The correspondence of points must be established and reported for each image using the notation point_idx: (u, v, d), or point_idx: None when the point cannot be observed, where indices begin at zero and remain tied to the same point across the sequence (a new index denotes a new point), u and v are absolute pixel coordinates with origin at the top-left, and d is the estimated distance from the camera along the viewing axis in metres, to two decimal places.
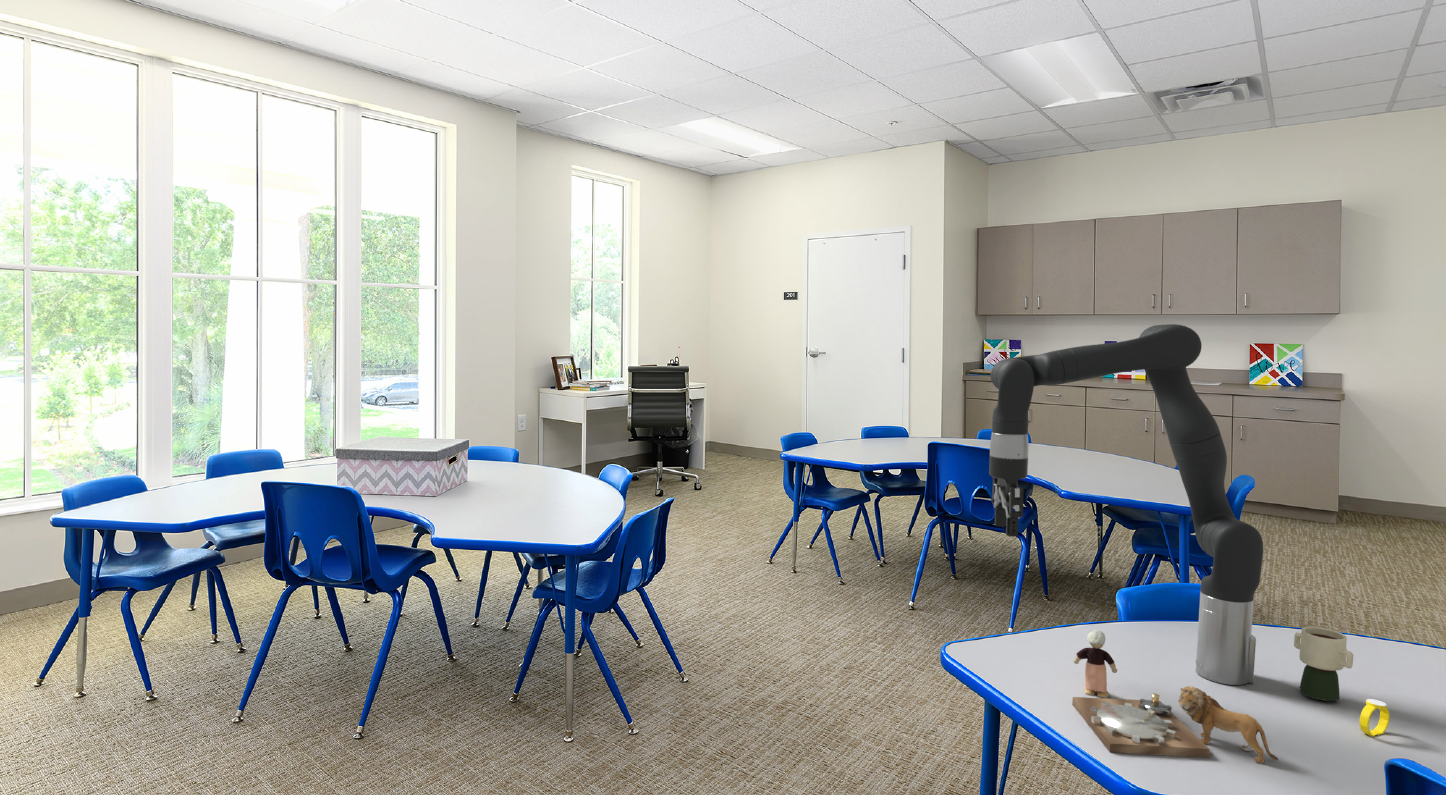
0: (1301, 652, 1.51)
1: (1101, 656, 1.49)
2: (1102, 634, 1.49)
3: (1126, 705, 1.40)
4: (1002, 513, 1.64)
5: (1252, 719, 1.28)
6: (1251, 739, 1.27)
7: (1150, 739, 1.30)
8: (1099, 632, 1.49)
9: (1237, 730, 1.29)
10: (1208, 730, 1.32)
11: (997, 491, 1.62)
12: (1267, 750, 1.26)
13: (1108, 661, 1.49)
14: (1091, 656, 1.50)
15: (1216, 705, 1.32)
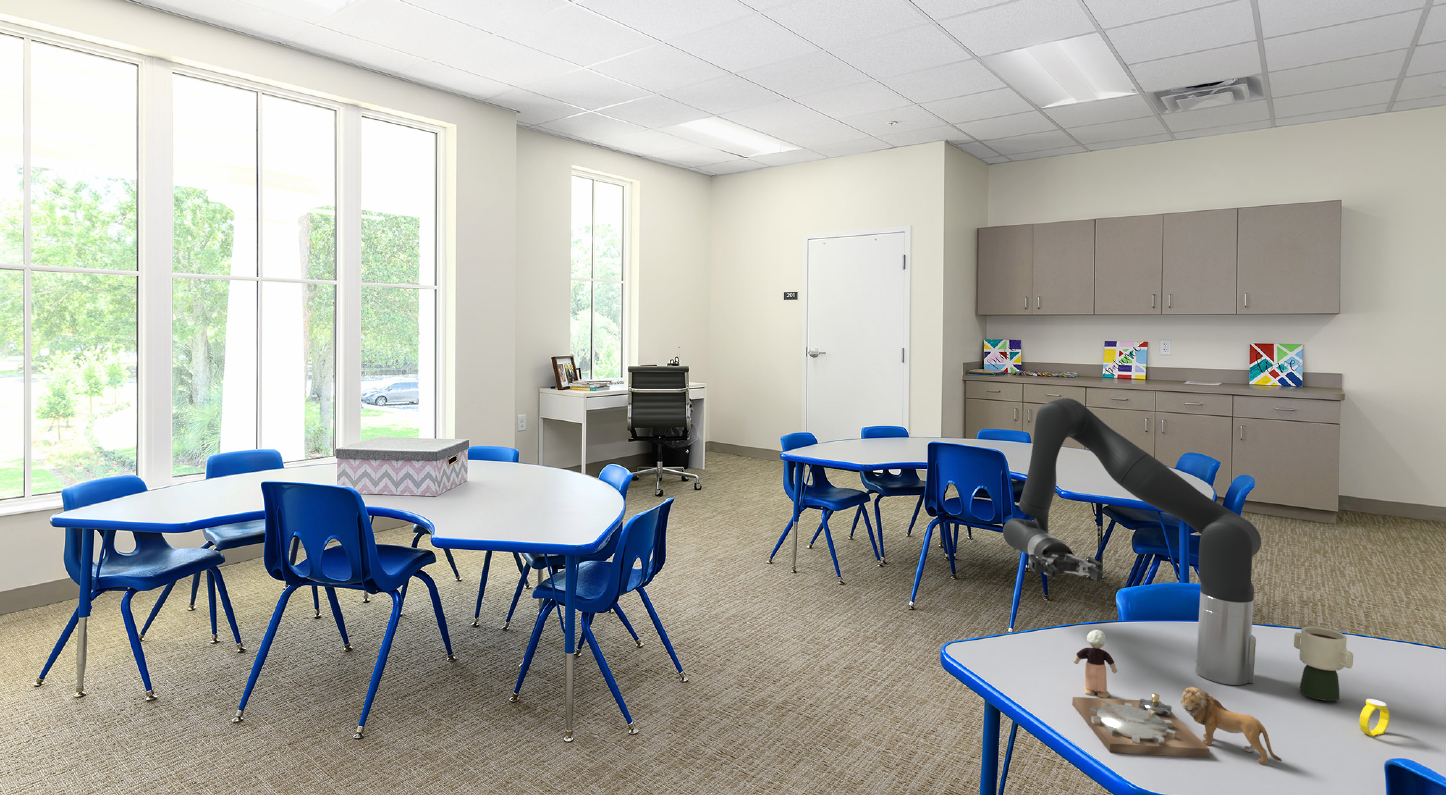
0: (1301, 652, 1.51)
1: (1101, 656, 1.49)
2: (1102, 634, 1.49)
3: (1126, 705, 1.40)
4: (1091, 571, 1.63)
5: (1255, 720, 1.27)
6: (1254, 740, 1.27)
7: (1150, 739, 1.30)
8: (1099, 632, 1.49)
9: (1240, 731, 1.29)
10: (1211, 731, 1.31)
11: (1067, 571, 1.68)
12: (1270, 751, 1.26)
13: (1108, 661, 1.49)
14: (1091, 656, 1.50)
15: (1219, 706, 1.32)
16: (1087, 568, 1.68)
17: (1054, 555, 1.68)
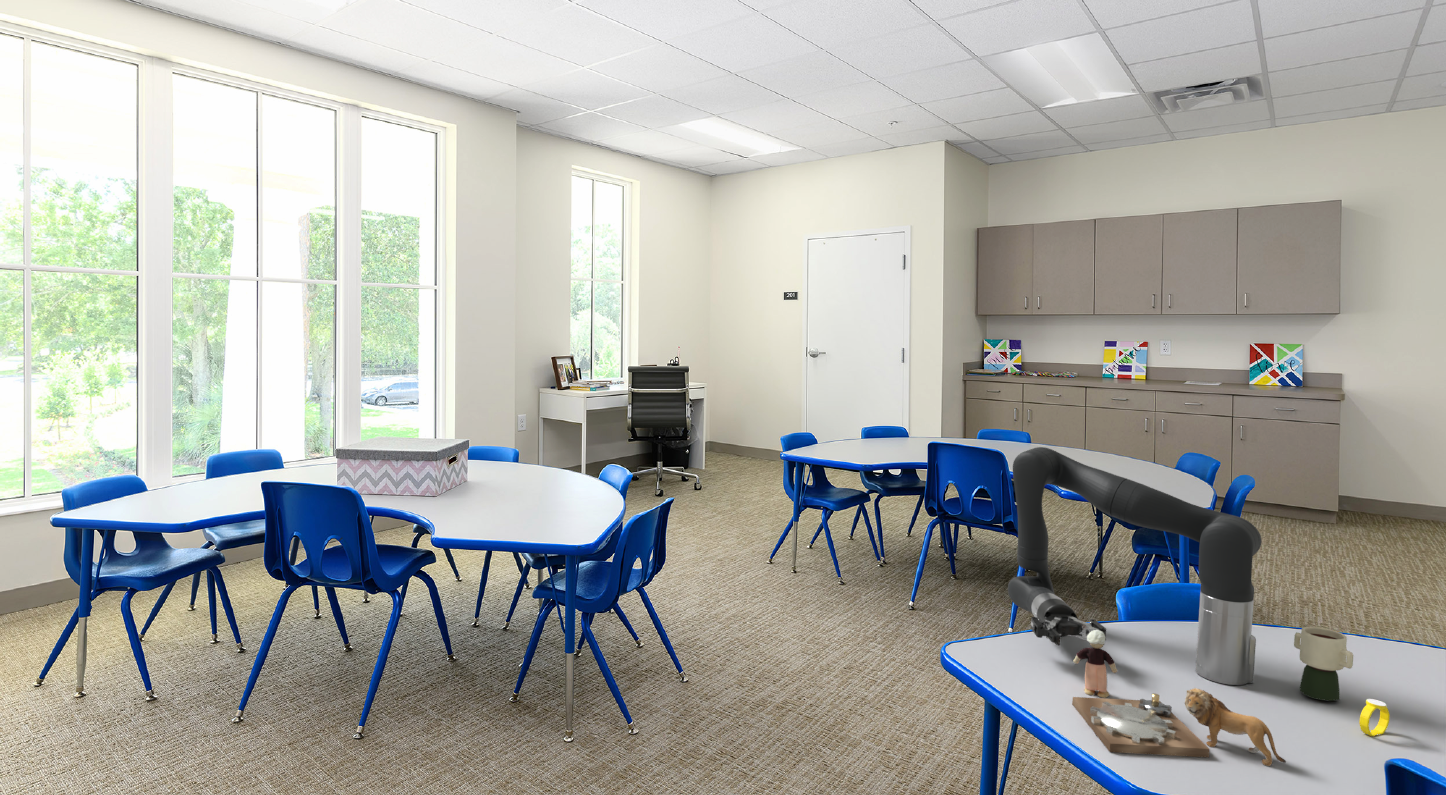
0: (1301, 652, 1.51)
1: (1101, 656, 1.49)
2: (1102, 634, 1.49)
3: (1126, 705, 1.40)
4: None
5: (1259, 721, 1.27)
6: (1259, 741, 1.26)
7: (1150, 739, 1.30)
8: (1099, 632, 1.49)
9: (1244, 732, 1.29)
10: (1215, 732, 1.31)
11: (1071, 635, 1.66)
12: (1274, 752, 1.26)
13: (1108, 661, 1.49)
14: (1091, 656, 1.50)
15: (1223, 707, 1.31)
16: None
17: (1057, 618, 1.66)
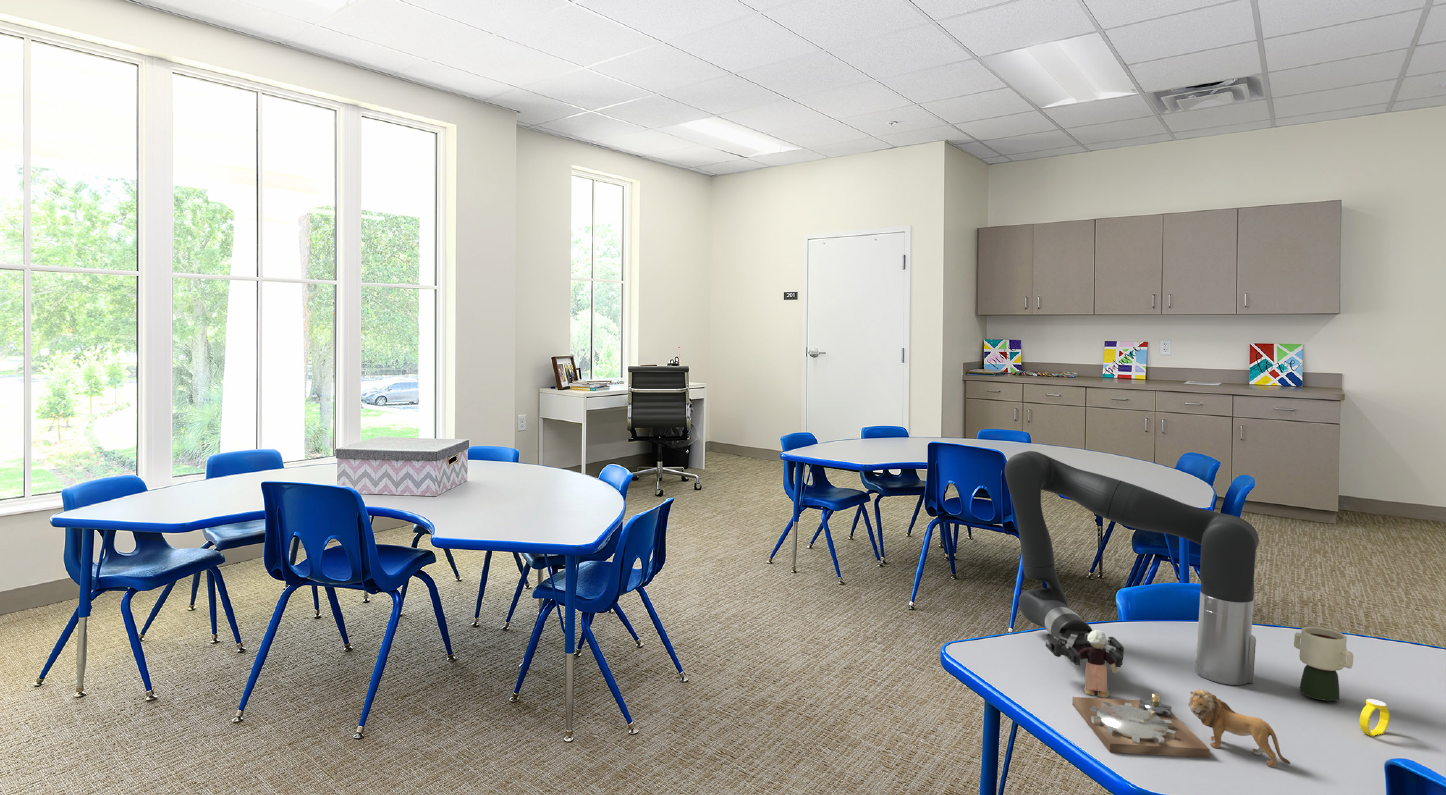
0: (1301, 652, 1.51)
1: (1101, 656, 1.49)
2: (1103, 634, 1.49)
3: (1126, 705, 1.40)
4: (1111, 655, 1.51)
5: (1264, 722, 1.27)
6: (1263, 743, 1.26)
7: (1150, 739, 1.30)
8: (1100, 632, 1.49)
9: (1248, 734, 1.28)
10: (1219, 734, 1.31)
11: None
12: (1279, 754, 1.25)
13: (1108, 661, 1.49)
14: (1091, 656, 1.50)
15: (1227, 708, 1.31)
16: None
17: (1073, 635, 1.57)
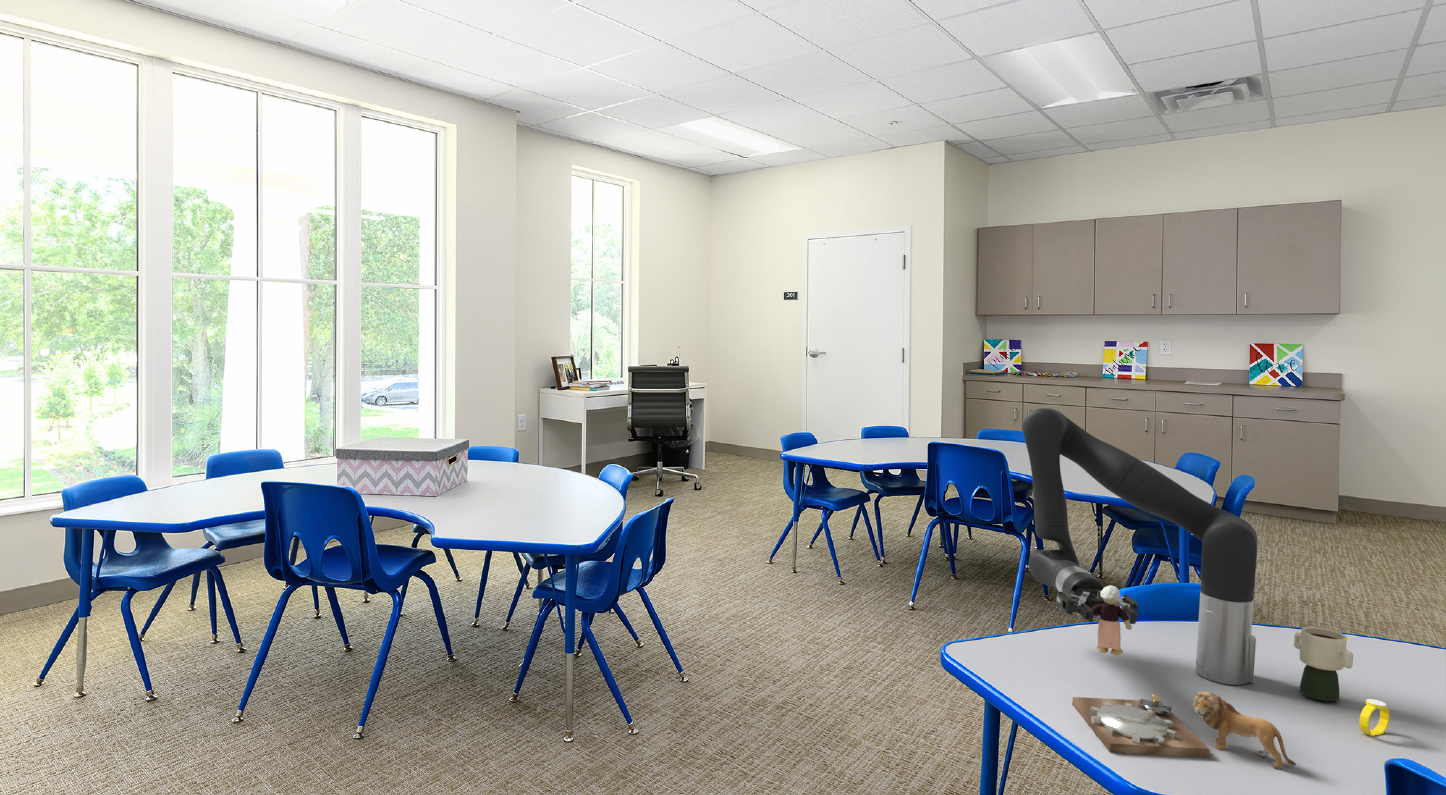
0: (1301, 652, 1.51)
1: (1115, 612, 1.43)
2: (1116, 590, 1.43)
3: (1126, 705, 1.40)
4: (1125, 612, 1.45)
5: (1269, 724, 1.26)
6: (1269, 744, 1.25)
7: (1150, 739, 1.30)
8: (1113, 588, 1.44)
9: (1254, 735, 1.28)
10: (1224, 735, 1.30)
11: None
12: (1285, 755, 1.25)
13: (1122, 617, 1.43)
14: (1105, 612, 1.44)
15: (1232, 710, 1.30)
16: None
17: (1085, 592, 1.51)
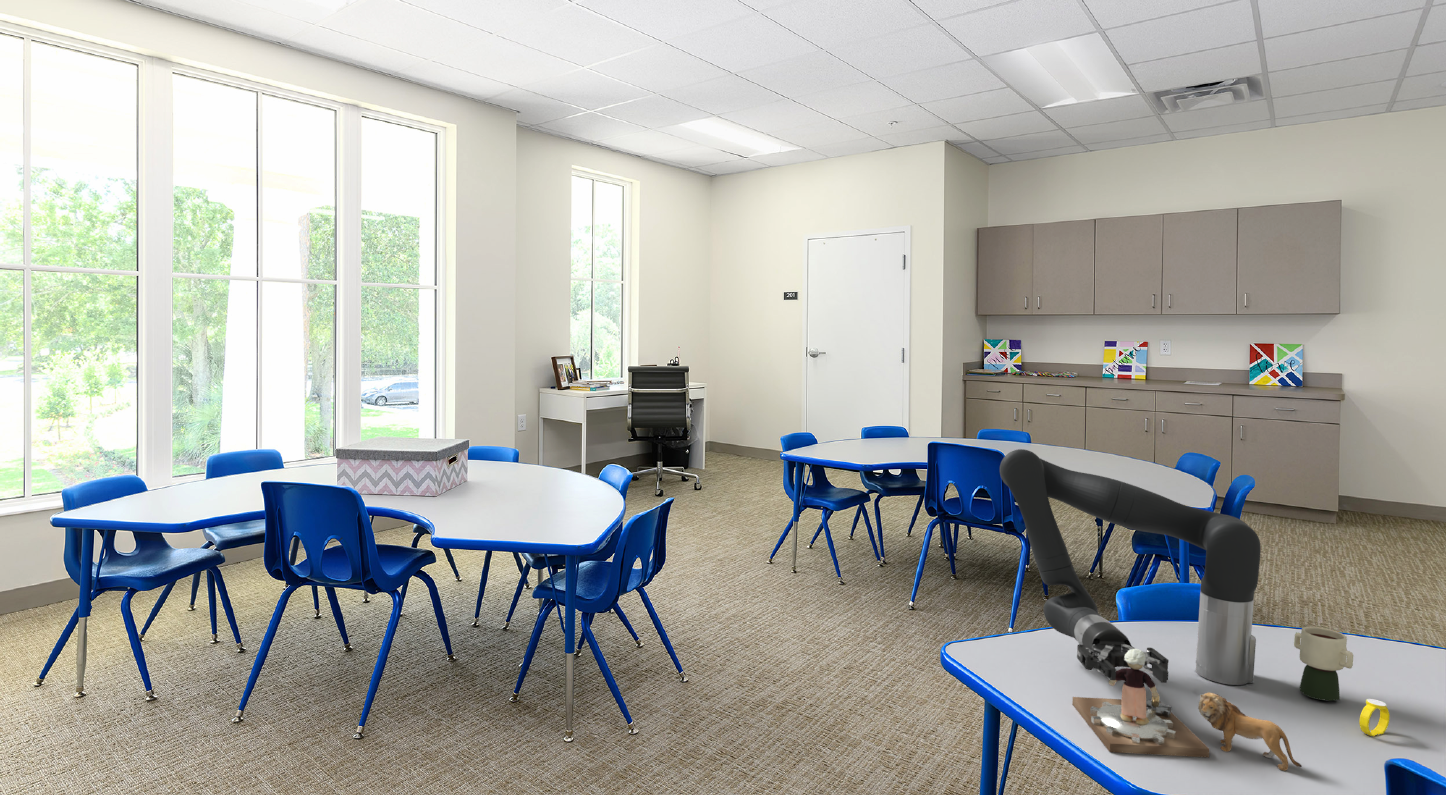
0: (1301, 652, 1.51)
1: (1140, 678, 1.33)
2: (1142, 653, 1.34)
3: None
4: (1155, 669, 1.35)
5: (1275, 726, 1.26)
6: (1274, 746, 1.25)
7: (1150, 739, 1.30)
8: (1138, 651, 1.34)
9: (1259, 737, 1.27)
10: (1229, 737, 1.29)
11: (1125, 666, 1.41)
12: (1290, 757, 1.24)
13: (1148, 684, 1.33)
14: (1129, 678, 1.34)
15: (1237, 711, 1.30)
16: (1148, 662, 1.41)
17: (1108, 646, 1.41)
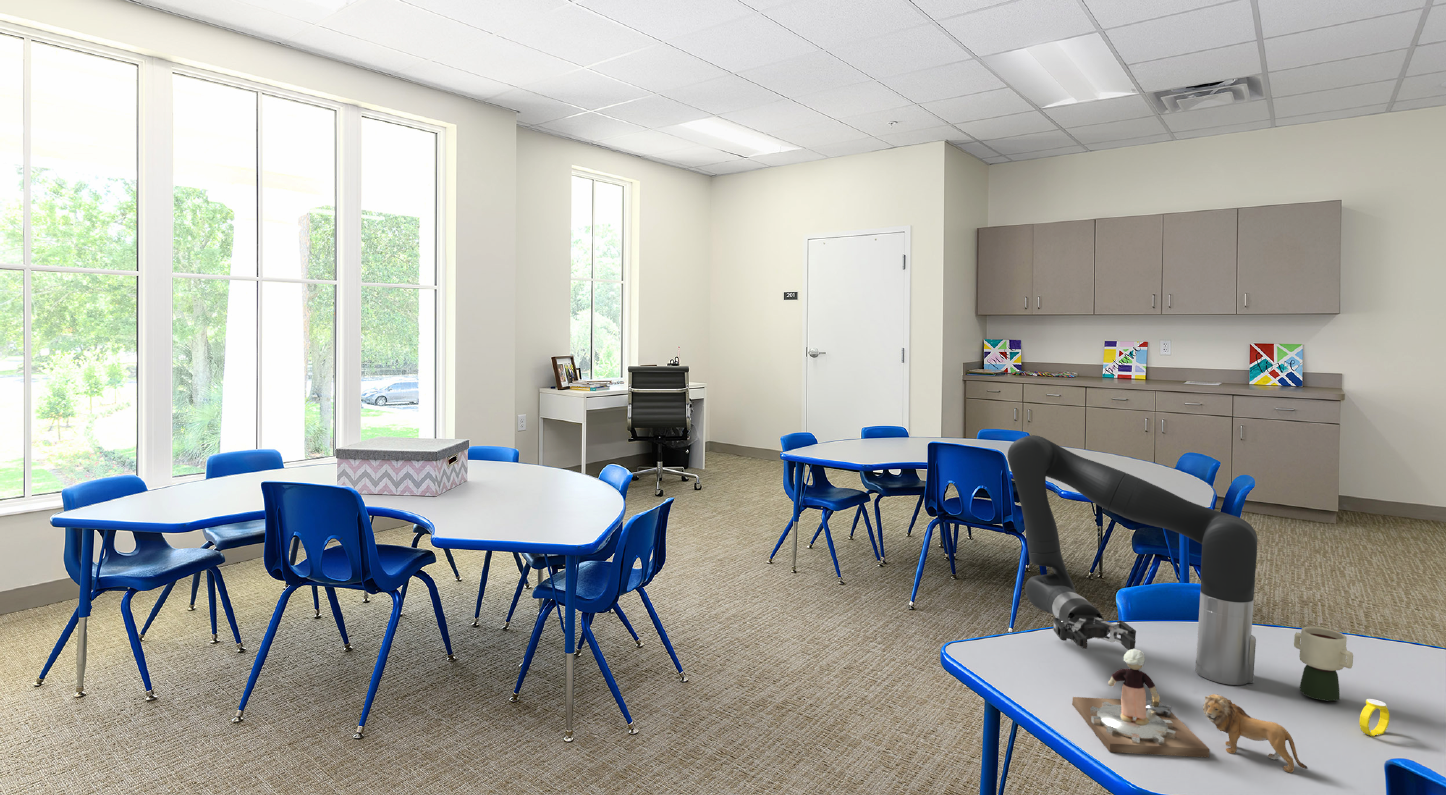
0: (1301, 652, 1.51)
1: (1140, 678, 1.33)
2: (1141, 654, 1.34)
3: None
4: (1123, 638, 1.48)
5: (1280, 727, 1.25)
6: (1280, 748, 1.24)
7: (1150, 739, 1.30)
8: (1137, 652, 1.34)
9: (1265, 739, 1.27)
10: (1235, 739, 1.29)
11: (1097, 637, 1.54)
12: (1296, 759, 1.24)
13: (1148, 684, 1.33)
14: (1128, 678, 1.34)
15: (1242, 713, 1.29)
16: (1118, 633, 1.54)
17: (1082, 619, 1.54)
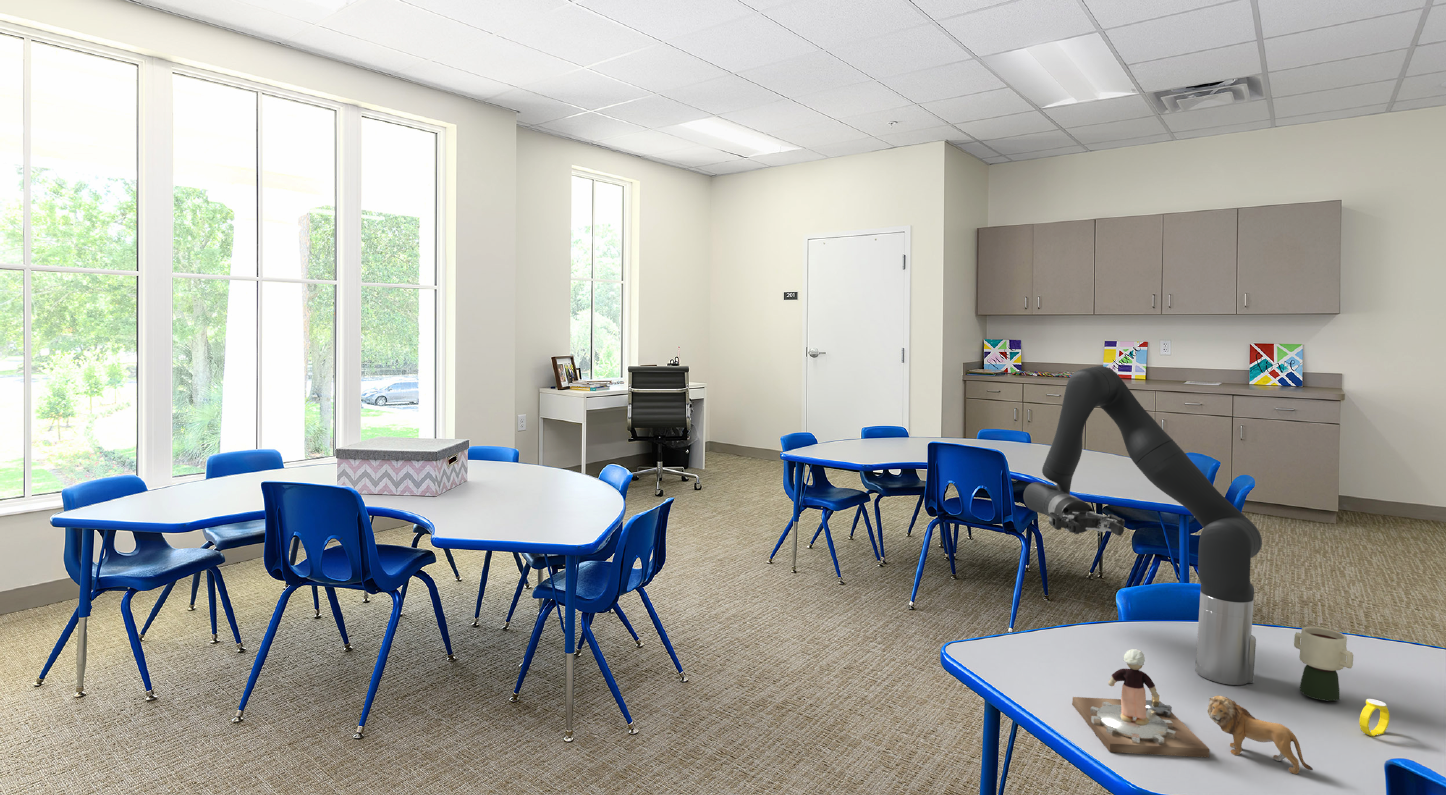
0: (1301, 652, 1.51)
1: (1140, 678, 1.33)
2: (1141, 654, 1.34)
3: None
4: (1112, 526, 1.62)
5: (1286, 728, 1.25)
6: (1285, 749, 1.24)
7: (1150, 739, 1.30)
8: (1137, 652, 1.34)
9: (1270, 740, 1.26)
10: (1239, 740, 1.28)
11: (1089, 528, 1.68)
12: (1301, 760, 1.24)
13: (1148, 684, 1.33)
14: (1128, 678, 1.34)
15: (1247, 714, 1.29)
16: (1109, 525, 1.68)
17: (1075, 512, 1.68)
